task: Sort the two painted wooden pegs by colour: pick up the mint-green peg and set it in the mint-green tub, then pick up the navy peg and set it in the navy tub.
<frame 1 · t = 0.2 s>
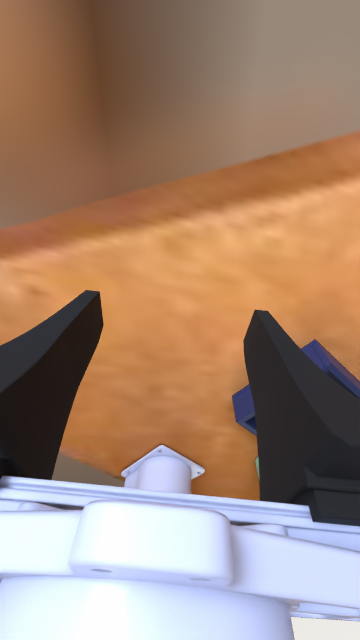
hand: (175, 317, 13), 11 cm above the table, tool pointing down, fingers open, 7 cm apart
navy tub: (301, 395, 29), on the table
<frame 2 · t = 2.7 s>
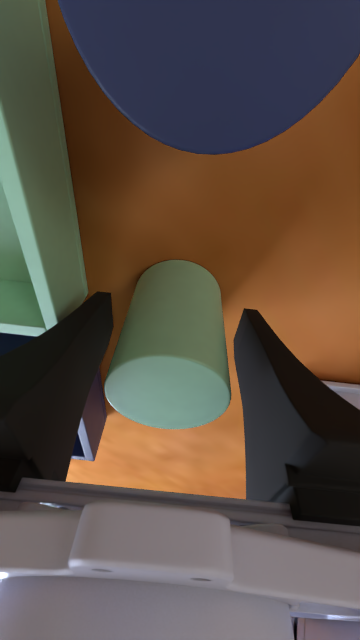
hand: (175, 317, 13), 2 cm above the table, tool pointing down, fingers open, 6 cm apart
navy peg: (209, 29, 8), on the table
navy tub: (23, 368, 18), on the table
mint peg: (177, 297, 14), on the table
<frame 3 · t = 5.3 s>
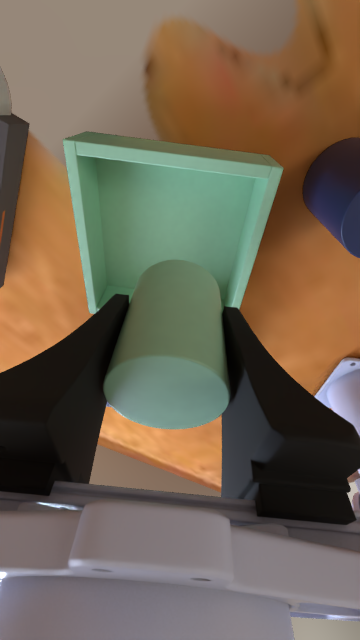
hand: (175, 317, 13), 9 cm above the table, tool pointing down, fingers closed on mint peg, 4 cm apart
navy peg: (340, 181, 16), on the table
mint tub: (171, 232, 19), on the table
mint peg: (177, 297, 14), point 7 cm above the table, touching gripper
when the fingers open (2 cm above the table, at t = 7.4 s): mint peg stays where it is, resting on mint tub.
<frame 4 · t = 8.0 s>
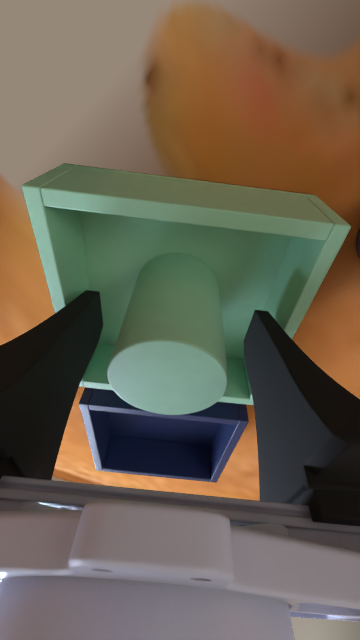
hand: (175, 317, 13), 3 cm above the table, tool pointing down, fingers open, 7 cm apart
navy tub: (164, 408, 23), on the table
mint tub: (178, 285, 15), on the table
mint peg: (177, 290, 14), resting on mint tub
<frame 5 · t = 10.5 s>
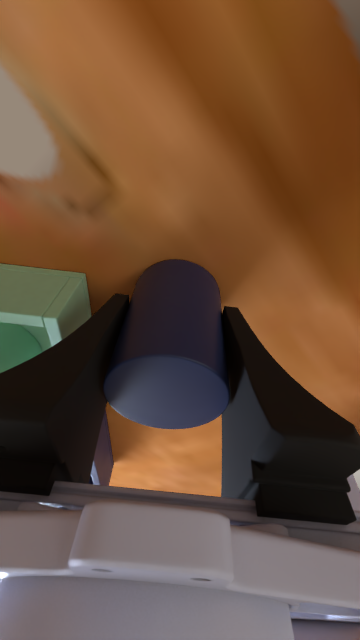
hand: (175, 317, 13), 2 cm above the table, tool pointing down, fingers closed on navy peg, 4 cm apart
navy peg: (177, 297, 14), on the table, touching gripper
navy tub: (52, 434, 25), on the table
mint tub: (10, 337, 16), on the table
mint peg: (4, 343, 16), resting on mint tub
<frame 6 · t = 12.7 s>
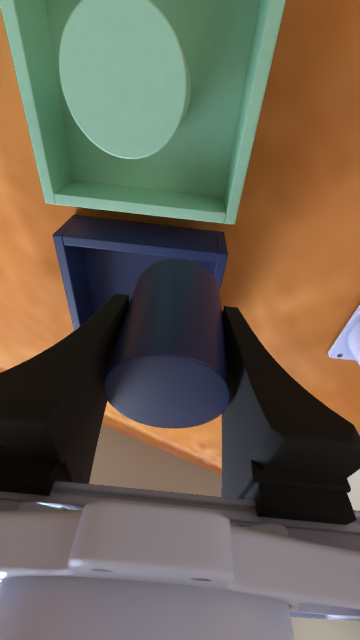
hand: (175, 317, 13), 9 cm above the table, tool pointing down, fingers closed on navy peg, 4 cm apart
navy peg: (177, 296, 14), point 7 cm above the table, touching gripper
navy tub: (147, 286, 22), on the table
mint tub: (151, 89, 14), on the table
mint peg: (148, 88, 14), resting on mint tub
when the fingers open (2 cm above the table, at t = 15.2 s): navy peg stays where it is, resting on navy tub.
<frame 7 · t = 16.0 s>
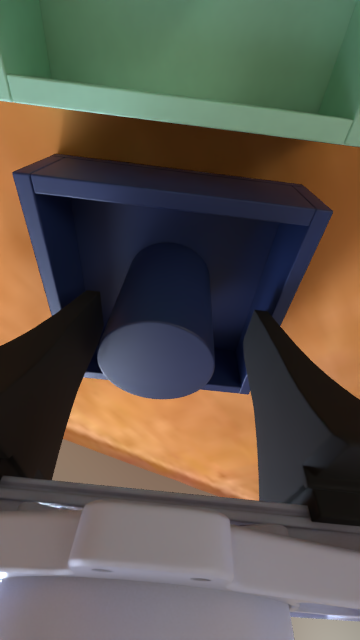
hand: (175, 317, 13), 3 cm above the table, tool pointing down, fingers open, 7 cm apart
navy peg: (169, 280, 14), resting on navy tub
navy tub: (170, 276, 15), on the table
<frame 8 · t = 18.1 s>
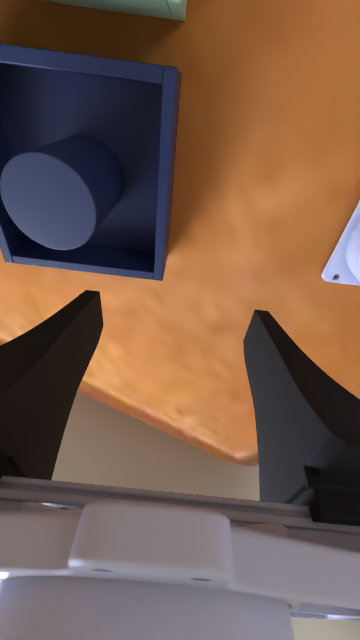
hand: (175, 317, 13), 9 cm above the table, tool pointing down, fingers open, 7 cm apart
navy peg: (89, 176, 17), resting on navy tub
navy tub: (91, 172, 17), on the table
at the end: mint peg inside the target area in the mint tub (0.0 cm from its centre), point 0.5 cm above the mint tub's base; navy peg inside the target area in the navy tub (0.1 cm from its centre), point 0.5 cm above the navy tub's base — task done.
